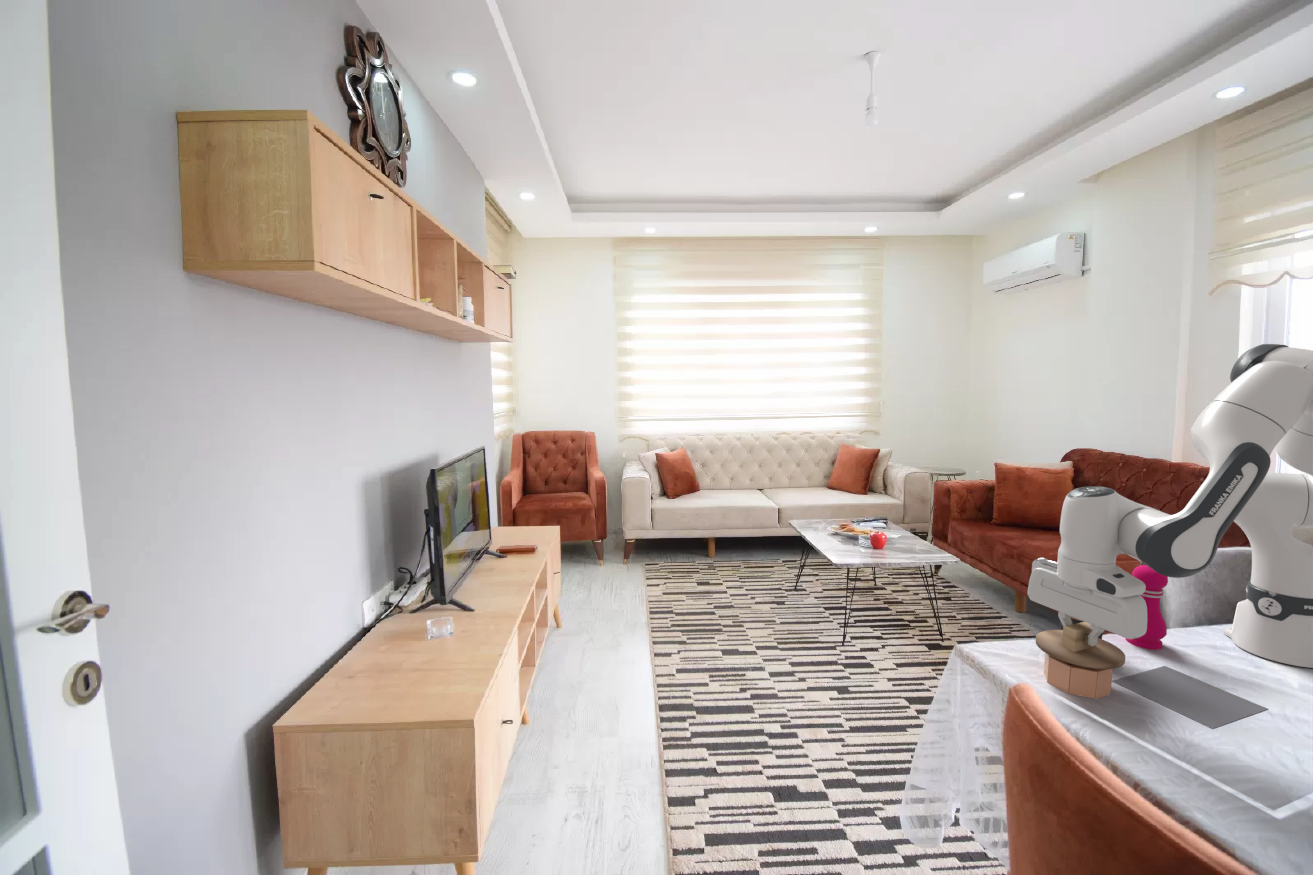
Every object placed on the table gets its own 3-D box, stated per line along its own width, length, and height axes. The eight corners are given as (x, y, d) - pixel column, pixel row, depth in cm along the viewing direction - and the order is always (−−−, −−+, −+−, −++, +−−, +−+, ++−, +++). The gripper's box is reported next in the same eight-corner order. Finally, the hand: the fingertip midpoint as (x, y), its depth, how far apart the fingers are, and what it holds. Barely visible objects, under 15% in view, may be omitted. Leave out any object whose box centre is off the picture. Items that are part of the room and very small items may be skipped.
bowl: (1068, 669, 119) (1070, 641, 118) (1120, 694, 109) (1123, 665, 109) (1032, 678, 115) (1034, 650, 115) (1084, 705, 106) (1086, 675, 105)
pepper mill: (1173, 655, 124) (1182, 565, 121) (1134, 652, 125) (1142, 564, 123) (1151, 639, 131) (1159, 554, 128) (1115, 637, 132) (1122, 553, 130)
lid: (1068, 628, 120) (1069, 607, 120) (1143, 660, 107) (1145, 636, 107) (1018, 640, 116) (1020, 617, 115) (1091, 675, 103) (1093, 649, 102)
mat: (1164, 669, 118) (1164, 665, 118) (1267, 713, 103) (1268, 708, 103) (1111, 684, 113) (1111, 680, 113) (1211, 733, 98) (1212, 728, 98)
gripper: (1022, 556, 118) (1018, 620, 120) (1132, 592, 99) (1125, 668, 101) (1044, 552, 120) (1040, 615, 122) (1156, 587, 101) (1149, 661, 103)
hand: (1079, 640), depth 111 cm, fingers closed on lid, 2 cm apart
